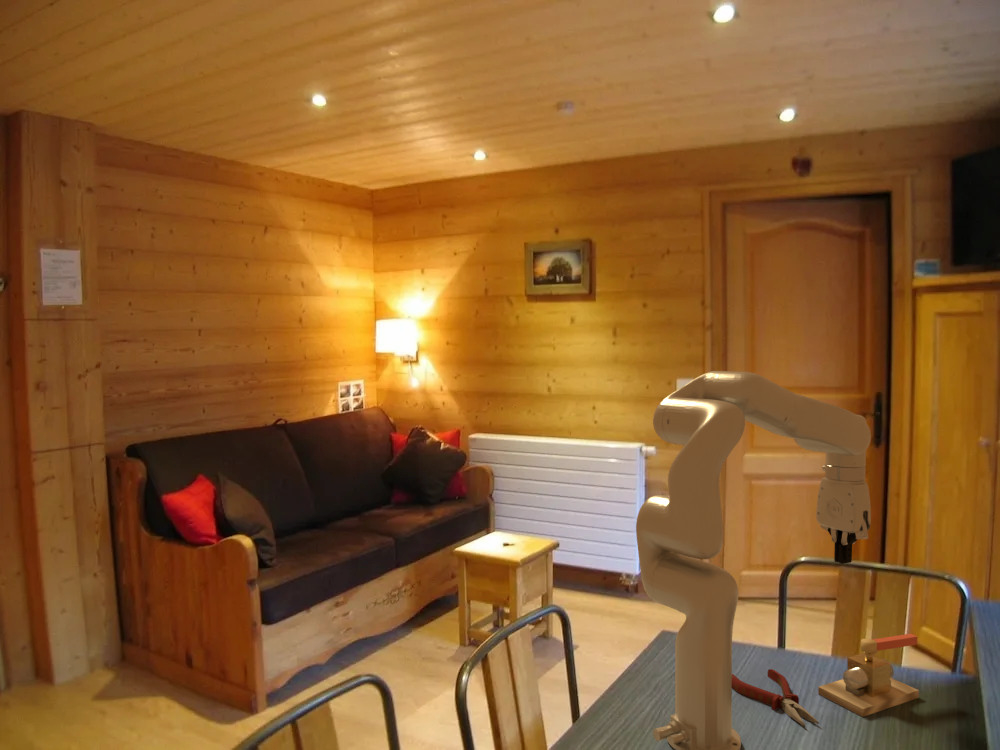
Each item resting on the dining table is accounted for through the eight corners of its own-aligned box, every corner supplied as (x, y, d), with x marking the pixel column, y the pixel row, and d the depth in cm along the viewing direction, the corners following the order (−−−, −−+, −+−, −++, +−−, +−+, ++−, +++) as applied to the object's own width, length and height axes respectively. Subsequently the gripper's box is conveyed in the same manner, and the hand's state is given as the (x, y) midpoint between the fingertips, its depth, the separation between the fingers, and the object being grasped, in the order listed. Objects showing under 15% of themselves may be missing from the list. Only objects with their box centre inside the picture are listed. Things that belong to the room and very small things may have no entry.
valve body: (863, 700, 140) (864, 662, 140) (838, 687, 145) (838, 651, 145) (898, 688, 145) (898, 651, 144) (872, 677, 150) (873, 641, 149)
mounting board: (862, 716, 137) (862, 709, 137) (818, 694, 146) (818, 686, 146) (918, 697, 144) (918, 690, 144) (873, 676, 153) (873, 669, 153)
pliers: (783, 735, 132) (784, 720, 132) (724, 684, 152) (724, 672, 152) (839, 726, 135) (839, 712, 135) (773, 678, 154) (773, 666, 154)
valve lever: (868, 654, 143) (868, 645, 143) (857, 648, 146) (857, 639, 146) (919, 646, 146) (919, 637, 146) (908, 640, 149) (908, 631, 149)
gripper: (802, 469, 157) (801, 555, 158) (863, 481, 143) (861, 574, 144) (828, 467, 160) (826, 551, 161) (890, 478, 147) (887, 570, 147)
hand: (842, 562), depth 152 cm, fingers closed
